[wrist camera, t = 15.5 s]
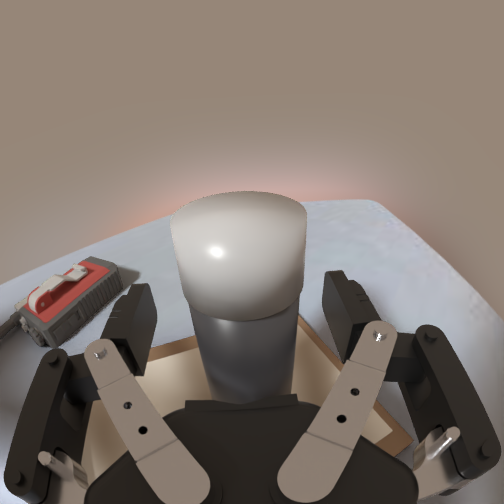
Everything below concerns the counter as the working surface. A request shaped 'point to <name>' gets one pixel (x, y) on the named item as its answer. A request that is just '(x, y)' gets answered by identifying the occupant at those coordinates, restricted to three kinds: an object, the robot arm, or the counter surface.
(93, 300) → the walkie-talkie
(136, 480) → the robot arm
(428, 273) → the counter surface
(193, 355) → the clipboard
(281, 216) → the bottle
